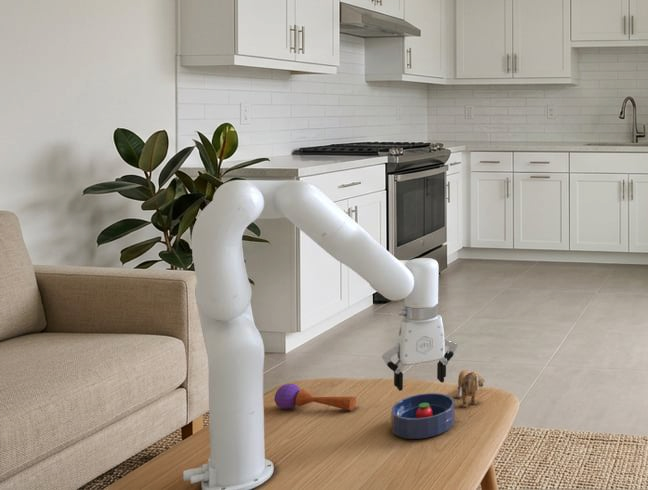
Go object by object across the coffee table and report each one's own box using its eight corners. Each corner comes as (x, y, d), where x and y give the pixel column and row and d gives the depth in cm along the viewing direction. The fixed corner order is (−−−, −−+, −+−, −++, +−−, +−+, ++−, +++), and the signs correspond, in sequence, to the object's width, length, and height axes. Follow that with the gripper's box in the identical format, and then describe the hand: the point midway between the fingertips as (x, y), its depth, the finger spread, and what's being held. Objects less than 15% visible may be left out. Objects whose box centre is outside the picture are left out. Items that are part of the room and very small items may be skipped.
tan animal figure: (487, 407, 167) (487, 372, 167) (467, 413, 164) (466, 377, 164) (467, 388, 179) (466, 355, 179) (447, 392, 176) (447, 359, 176)
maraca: (346, 400, 162) (268, 391, 164) (347, 421, 164) (270, 412, 165) (358, 385, 168) (283, 377, 170) (358, 406, 170) (284, 398, 171)
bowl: (400, 447, 147) (400, 425, 147) (385, 422, 159) (385, 402, 159) (463, 430, 155) (462, 409, 155) (443, 408, 167) (443, 388, 167)
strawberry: (418, 429, 154) (418, 409, 154) (413, 423, 157) (413, 403, 157) (434, 425, 156) (434, 405, 156) (429, 418, 160) (429, 399, 159)
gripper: (387, 321, 148) (386, 397, 148) (462, 310, 158) (461, 382, 158) (379, 313, 155) (378, 386, 155) (452, 303, 164) (451, 372, 164)
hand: (420, 384), depth 156 cm, fingers open, 9 cm apart
